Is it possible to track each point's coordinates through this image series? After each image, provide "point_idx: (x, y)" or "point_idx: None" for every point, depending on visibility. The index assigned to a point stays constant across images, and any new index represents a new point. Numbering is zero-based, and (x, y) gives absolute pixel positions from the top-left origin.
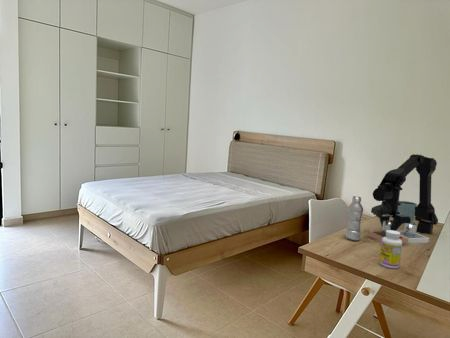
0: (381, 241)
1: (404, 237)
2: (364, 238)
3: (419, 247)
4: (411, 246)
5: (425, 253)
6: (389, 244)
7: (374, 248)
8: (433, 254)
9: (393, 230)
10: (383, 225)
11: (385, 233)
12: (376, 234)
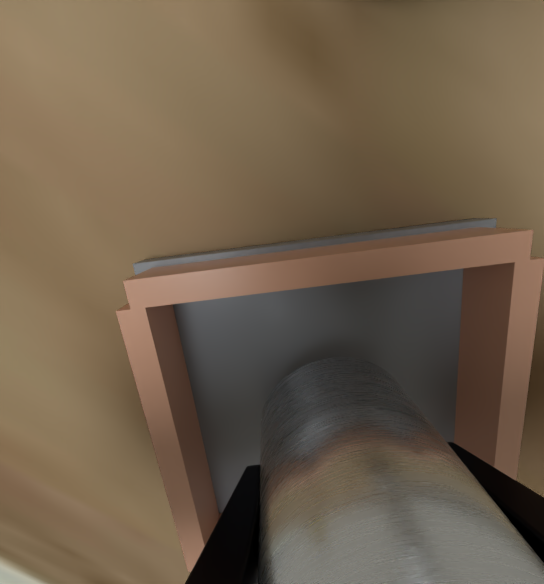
0: (213, 261)
1: None
2: (428, 142)
3: (166, 569)
4: None
5: (10, 532)
6: None
7: (15, 34)
8: (4, 575)
9: (208, 566)
10: (433, 522)
11: (302, 403)
12: (358, 269)
